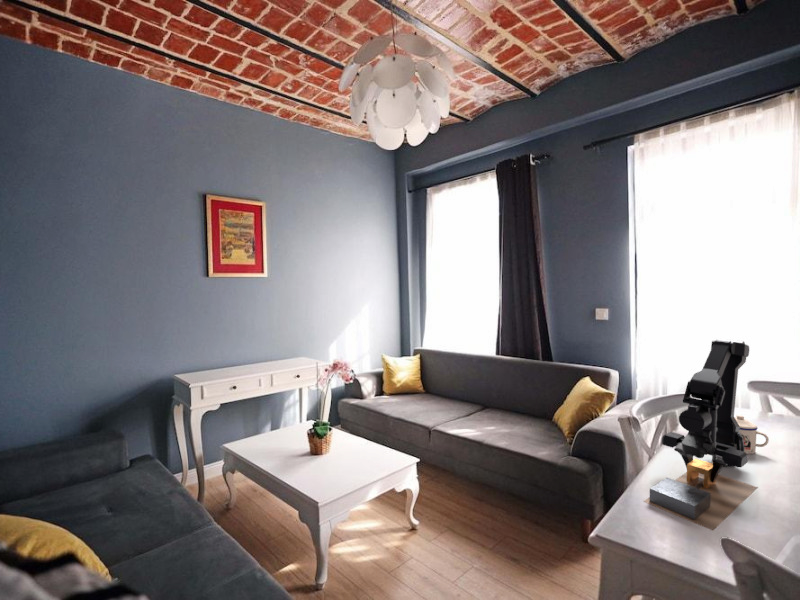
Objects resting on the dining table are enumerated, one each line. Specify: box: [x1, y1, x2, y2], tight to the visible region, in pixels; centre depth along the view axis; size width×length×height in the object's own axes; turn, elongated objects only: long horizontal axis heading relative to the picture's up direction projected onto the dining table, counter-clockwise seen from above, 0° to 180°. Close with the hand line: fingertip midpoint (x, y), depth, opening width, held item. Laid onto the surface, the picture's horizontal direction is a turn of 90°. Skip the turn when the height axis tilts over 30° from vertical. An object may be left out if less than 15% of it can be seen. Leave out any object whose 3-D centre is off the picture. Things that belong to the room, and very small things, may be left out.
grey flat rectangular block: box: [649, 477, 711, 520], centre depth 108 cm, size 22×10×4 cm, turn 125°
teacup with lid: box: [734, 414, 770, 455], centre depth 140 cm, size 12×9×12 cm
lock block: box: [686, 458, 716, 489], centre depth 115 cm, size 6×5×5 cm
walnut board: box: [643, 471, 759, 531], centre depth 110 cm, size 33×15×1 cm, turn 125°
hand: (701, 478), depth 115 cm, fingers closed on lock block, 5 cm apart
